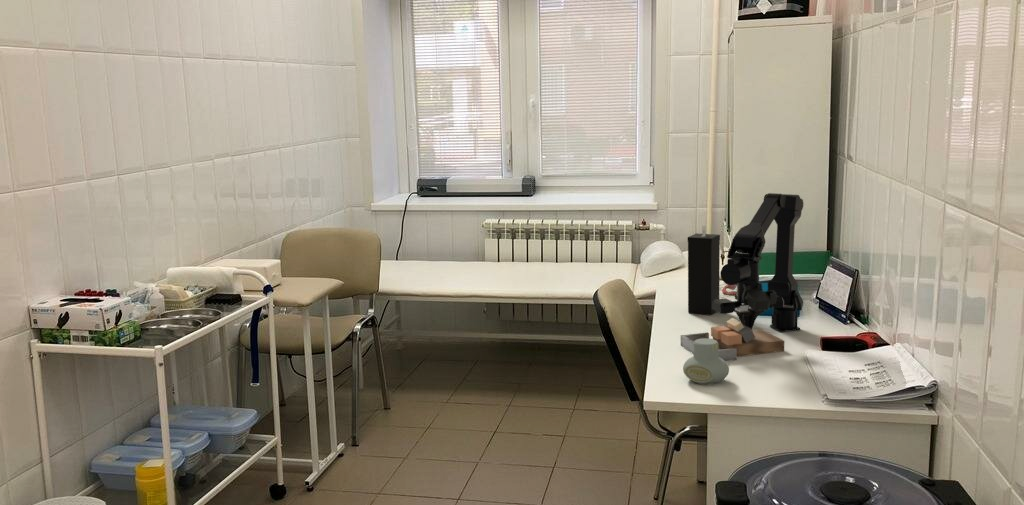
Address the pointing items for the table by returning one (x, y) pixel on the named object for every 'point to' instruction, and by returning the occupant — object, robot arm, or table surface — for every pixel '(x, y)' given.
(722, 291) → the pink ball with cord
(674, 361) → the table surface
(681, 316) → the table surface
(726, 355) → the tray
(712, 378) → the air freshener
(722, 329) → the tile
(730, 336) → the tile
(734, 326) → the grey and beige block
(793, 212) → the robot arm
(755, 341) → the board
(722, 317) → the table surface
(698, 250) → the tall black pillar
